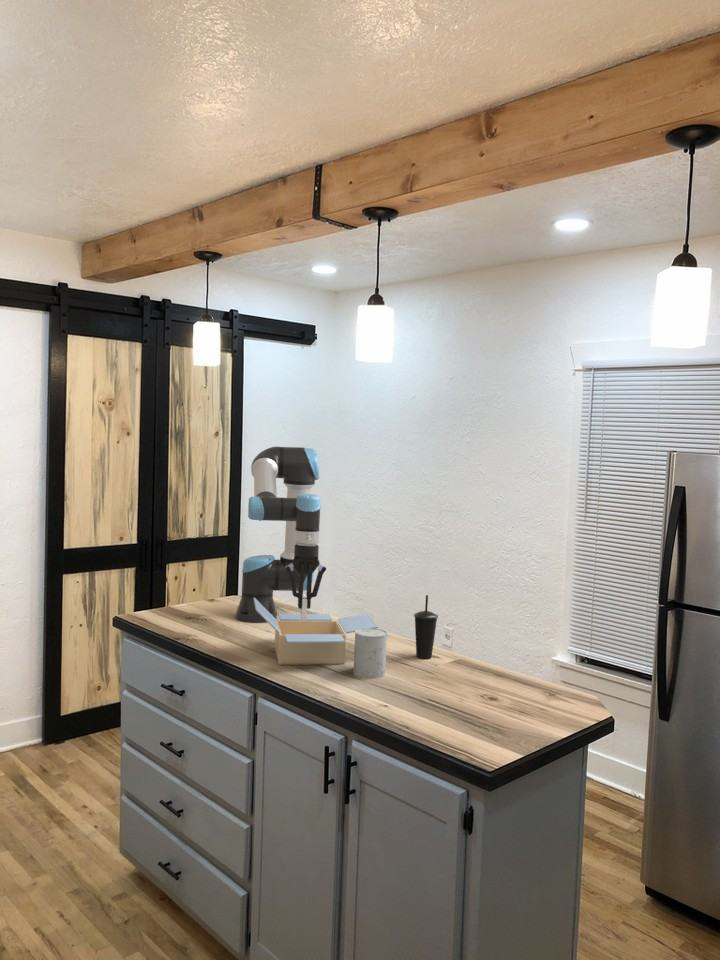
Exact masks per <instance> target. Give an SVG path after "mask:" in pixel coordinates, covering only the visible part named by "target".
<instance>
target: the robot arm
mask: <svg viewBox="0 0 720 960" xmlns="http://www.w3.org/2000/svg"><path fill="white" fill-rule="evenodd" d="M250 472H251V476H252V477H253V496H250V497H249V498H248V507H247V508H248V509H247V511H248V512H247V517H248V519H249V520H254V521H258V522H259V521H268V522H269V521H275V522H276V521H279V522H285V534H284V536H285V537H284V550H283V552H281V553H280V557H279V559H276V558H275V556H274V555H272V554H262V555H254V556H250V557H247V558H246V559H244V560H243V563H242V570H241V573H242V576H241V577H242V580H241V583H242V584H241V598H240V600H239V603H238V606H237V609H236V612H235V615H236V616H235V618H236V619H237V620H238V621H242V622H245V623H246V622H247V623H268V622H267V621H266V620H265V619H264V618H263V617H262V616H261V615H260V614H259V613H258V612H257V611H256V609H255V604H254V599H253V598H255V599H256V600H257V601H258V602H259V603H260V604H261V605H262V606H263V607H264V608H265V609H266V610H267V611H268V612H269V613H270V614H271V615H272V616H273V617H274V618H275V619H276V620H277V618H278V617H277V616H278V614H277V608H276V605H275V601H274V598H273V597H274V591H275V592H276V591H279V592H281V591H282V592H286V591H287V592H292V595H293V597H295V598H297V608H298V609H299V610H300V614H301V619H302V620H307V614H308V610H310V609H311V604H312V603H311V602H312V598H316V597H317V596H318V593H319V592H318V591H319V590H320V586H321V582H322V578H323V575H324V573H325V572H326V571H327V567H326V566H325V565H322V563H320V560H319V551H320V550H319V547H320V546H319V545H318V544H319V542H320V521H321V519H320V518H321V508H322V503H321V497H320V495H318V494H313V493H312V494H311V489H312V487H314V486H315V484H316V483H315V482H316V481H318V480H319V479H320V465H319V457H318V452H317V450H315V449H314V448H310V447H304V446H303V447H301V446H299V447H298V446H295V447H293V446H292V447H291V446H271V447H268V448H266V449H264V450H262V451H261V452H259V453H258V454H257V455H256V456H255V457H254V458H253V459H252V463H251V466H250ZM277 479H283V485H284V486H285V487H286V488H287V491H286V492H287V493H286V497H280V496H279V497H278V491H277ZM316 569H317V571H318V572H317V575H316V578H315V582H314V576H315V571H316ZM313 582H314V585H312V584H313ZM312 586H313V589H312ZM304 592H305V593H306V594H305V595H306V597H305V596H304Z"/></svg>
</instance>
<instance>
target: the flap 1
mask: <svg viewBox="0 0 720 960" xmlns="http://www.w3.org/2000/svg"><path fill="white" fill-rule="evenodd" d="M253 599H254V604H255V609H256V611H257V612H258V613H259V614H260V615H261V616H262V617H263V618H264V619H265V620H266V621H267V622H266V623H268V625H269V626H271V627H272V628H273V630H276V631H277V632H278V633H280V632H279V629H278V625H277V622H276V621H277V618H276V619H275V618H274V617H273V616H272V615H271V614H270V613H269V612H268V611H267V610H266V609H265V608H264V607H263V606H262V605H261V604H260V603H259V602H258V601H257V600H256V599H255V598H253Z"/></svg>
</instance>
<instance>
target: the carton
mask: <svg viewBox="0 0 720 960" xmlns="http://www.w3.org/2000/svg"><path fill="white" fill-rule="evenodd" d="M277 616H278V617H279V620H276V622H277V625H278V629H279V632H280V633H278V632H277V631H276V630H275V629H274V630H275V631H274V651H275V656H276V659H277V664H278V666H302V665H303V666H304V665H305V666H306V665H307V666H309V665H318V666H319V665H322V666H323V665H345V662H346V661H345V655H346V639H347V637H346V632H345V631H344V629H343V628H342V626H341V624H340V623H339V621H338V620H333V618H332V617H331V615H330V613H307V620H302V619H301V613H278V614H277Z"/></svg>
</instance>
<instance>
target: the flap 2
mask: <svg viewBox="0 0 720 960" xmlns="http://www.w3.org/2000/svg"><path fill="white" fill-rule="evenodd" d="M337 622H338V624H339V625H340V627H341V629H342V630H343V632H344V633H345V634H352V633H355V631H356V630H358V629H363V628H374V629H379V626H378V625H377V624H376V623H375V622H374V620H373V619H372V617H371V616H370V615H369V614H368V613H364V614H359V615H353V616H352V615H351V616H348V617H341V618H337Z"/></svg>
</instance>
